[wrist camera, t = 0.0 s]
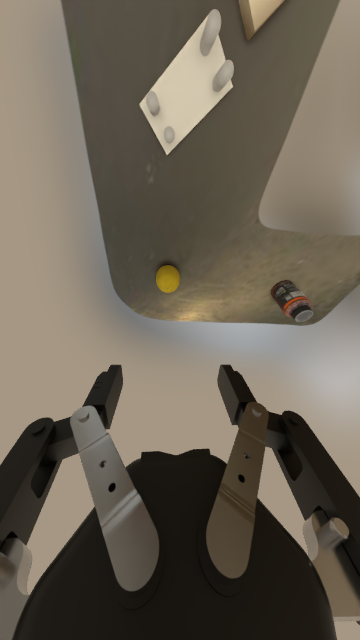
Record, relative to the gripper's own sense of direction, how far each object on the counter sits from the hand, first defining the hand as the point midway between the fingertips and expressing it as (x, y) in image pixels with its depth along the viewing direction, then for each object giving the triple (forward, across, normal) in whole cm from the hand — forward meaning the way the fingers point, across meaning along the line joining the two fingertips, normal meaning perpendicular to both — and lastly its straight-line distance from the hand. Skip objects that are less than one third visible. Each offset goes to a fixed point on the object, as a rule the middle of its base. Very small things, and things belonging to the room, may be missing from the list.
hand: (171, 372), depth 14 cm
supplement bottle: (+34, -32, 0) cm, 47 cm away
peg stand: (+23, -2, -28) cm, 36 cm away
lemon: (+33, 0, -3) cm, 33 cm away
